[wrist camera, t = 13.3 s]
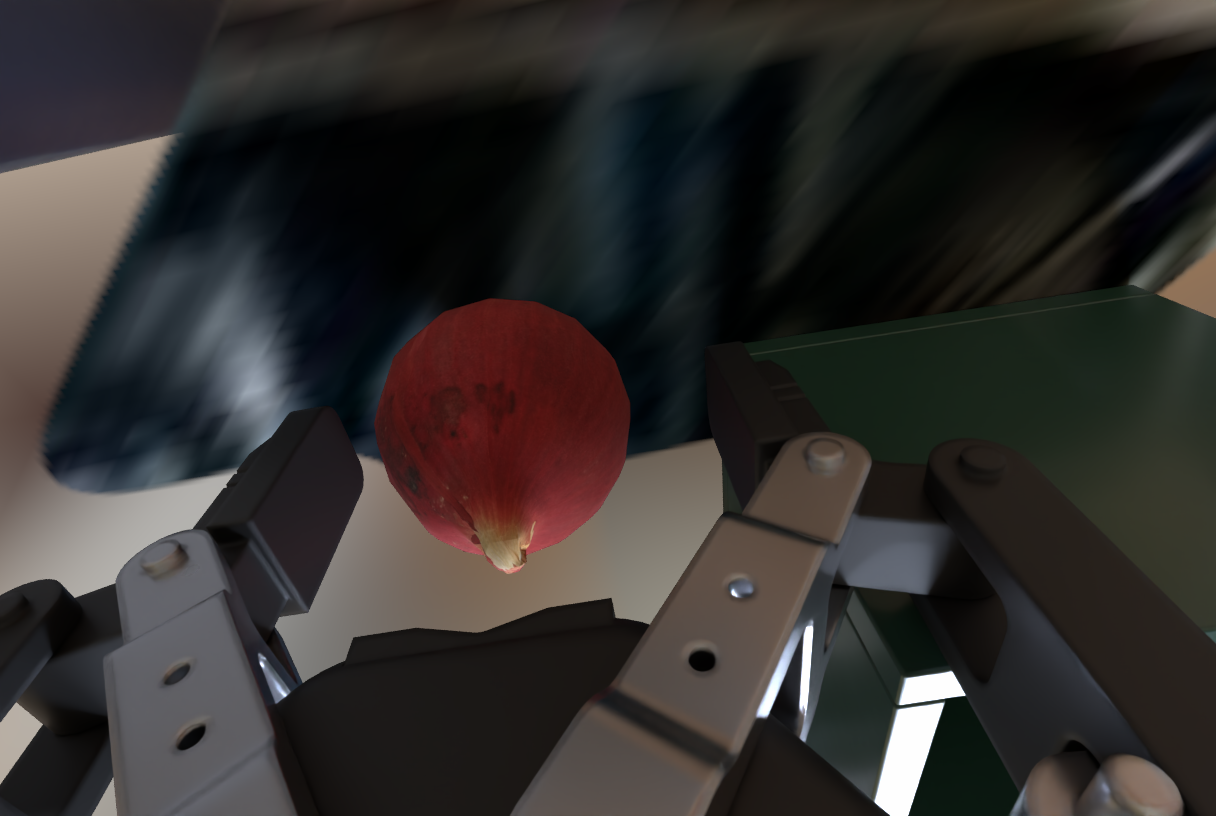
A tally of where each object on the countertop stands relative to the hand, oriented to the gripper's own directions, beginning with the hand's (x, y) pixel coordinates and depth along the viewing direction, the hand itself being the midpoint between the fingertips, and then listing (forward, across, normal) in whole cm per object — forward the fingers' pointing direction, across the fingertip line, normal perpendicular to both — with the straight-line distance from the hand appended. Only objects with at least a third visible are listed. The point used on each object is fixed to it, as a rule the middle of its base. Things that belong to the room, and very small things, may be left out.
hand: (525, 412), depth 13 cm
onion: (+5, +1, +1) cm, 5 cm away
